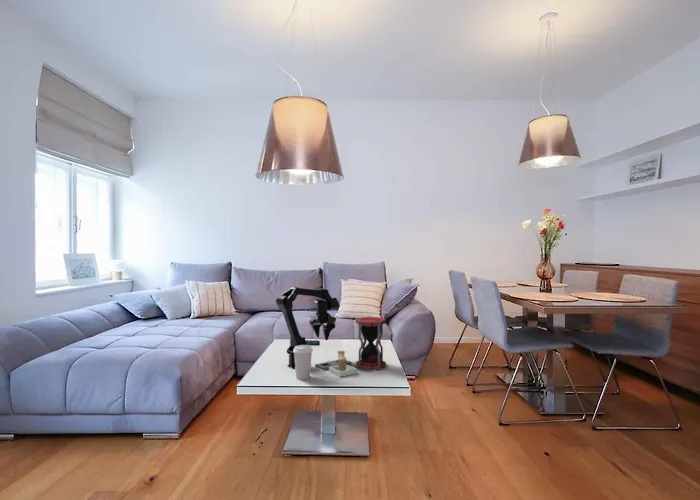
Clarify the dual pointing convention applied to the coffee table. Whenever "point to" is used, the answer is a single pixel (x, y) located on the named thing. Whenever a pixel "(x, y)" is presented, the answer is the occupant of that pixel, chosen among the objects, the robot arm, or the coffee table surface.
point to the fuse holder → (329, 364)
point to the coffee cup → (302, 361)
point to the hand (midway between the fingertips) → (322, 338)
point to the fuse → (341, 354)
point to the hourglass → (370, 343)
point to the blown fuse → (342, 363)
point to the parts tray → (348, 371)
